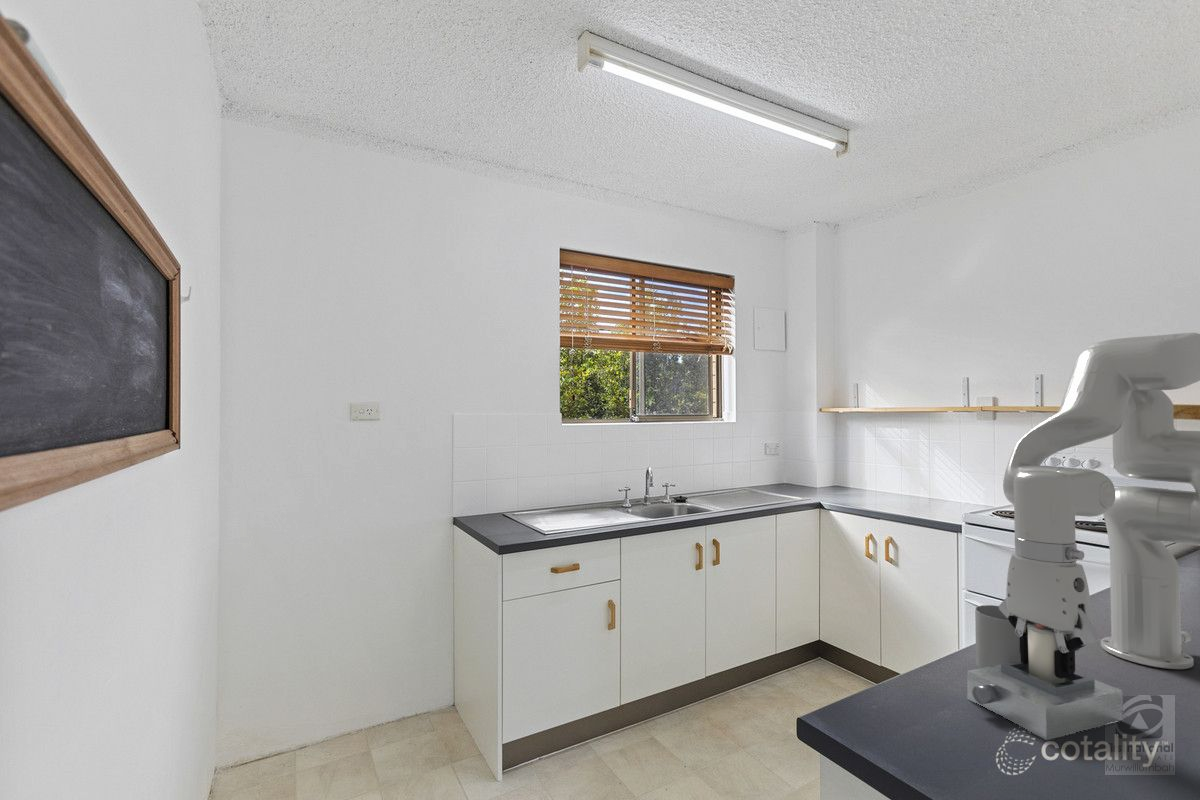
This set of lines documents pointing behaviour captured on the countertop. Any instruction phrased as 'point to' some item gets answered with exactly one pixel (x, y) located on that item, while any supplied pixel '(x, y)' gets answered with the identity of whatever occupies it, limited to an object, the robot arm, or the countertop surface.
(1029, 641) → the cream white cylinder
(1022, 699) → the grey holder block
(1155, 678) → the countertop surface
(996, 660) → the cup
